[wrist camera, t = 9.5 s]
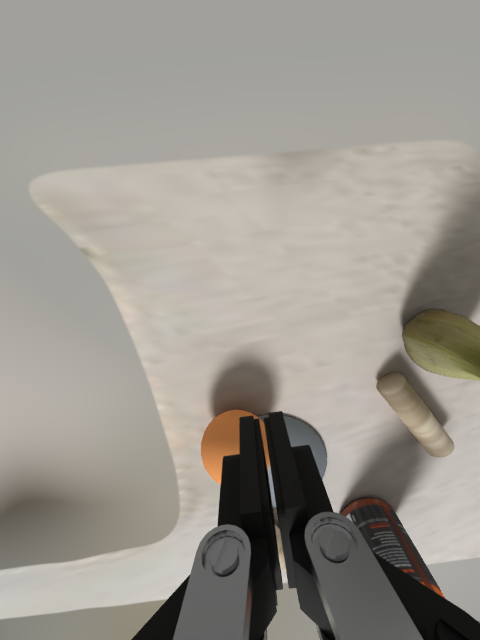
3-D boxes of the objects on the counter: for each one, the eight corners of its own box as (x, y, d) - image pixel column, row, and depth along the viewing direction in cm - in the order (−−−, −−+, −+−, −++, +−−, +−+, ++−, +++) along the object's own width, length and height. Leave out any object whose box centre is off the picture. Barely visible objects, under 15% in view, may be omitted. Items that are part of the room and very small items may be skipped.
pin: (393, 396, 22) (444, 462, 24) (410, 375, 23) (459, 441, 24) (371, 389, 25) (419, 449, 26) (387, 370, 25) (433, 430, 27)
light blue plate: (321, 406, 25) (322, 408, 25) (330, 498, 28) (330, 500, 28) (205, 423, 26) (205, 424, 26) (225, 512, 29) (225, 514, 29)
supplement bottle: (325, 515, 29) (377, 678, 18) (371, 484, 28) (457, 638, 17) (358, 546, 30) (426, 716, 19) (404, 518, 29) (503, 681, 18)
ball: (263, 507, 22) (279, 436, 26) (260, 489, 18) (280, 407, 22) (197, 483, 24) (221, 419, 28) (180, 461, 20) (211, 389, 24)
